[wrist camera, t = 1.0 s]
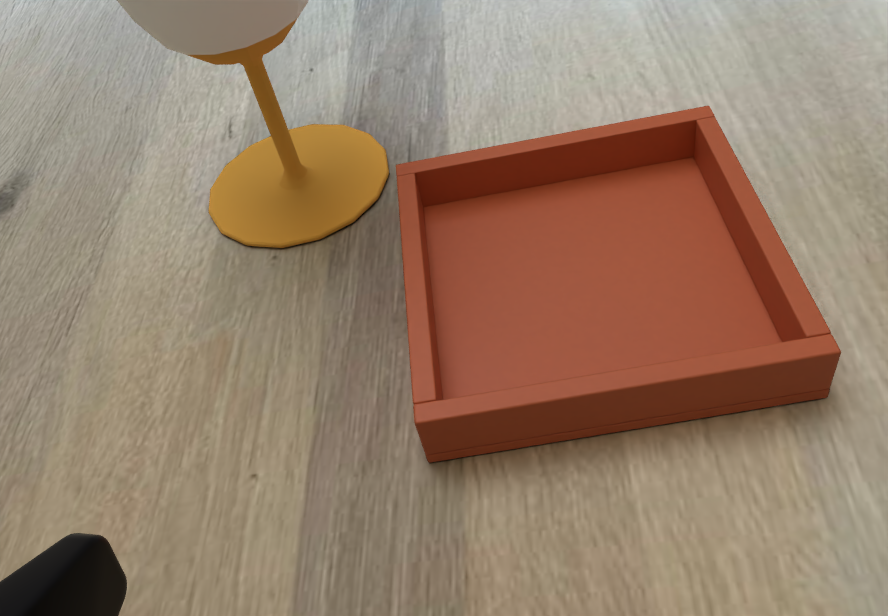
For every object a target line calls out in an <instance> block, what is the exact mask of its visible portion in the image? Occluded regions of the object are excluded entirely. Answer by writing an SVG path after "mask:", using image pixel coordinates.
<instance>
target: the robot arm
mask: <svg viewBox="0 0 888 616" xmlns="http://www.w3.org/2000/svg"><path fill="white" fill-rule="evenodd" d="M126 590H127V580H126V576H125V574H124V572H123V570H122V568H121V566H120V564H119V562H118V560H117V558H116V556H115V554H114V552H113V550H112V548H111V546H110V544H109V542H108V541H107V539H106V538H104V537H103V536H101V535H93V534H83V533H74V534H70V535H68V536H66V537H64V538H63V539H61V540H60V541H58V542H57V543H55V544H54V545H53V546H51V547H50V548H48V549H47V550H45V551H44V552H42V553H41V554H40V555H38V556H37V557H35V558H34V559H32V560H31V561H29V562H28V563H27V564H25V565H24V566H22V567H21V568H19V569H18V570H17V571H15V572H14V573H12V574H11V575H9V576H8V577H6V578H5V579H4V580H2V581H1V582H0V616H118V615H119V612H120V610H121V607H122V604H123V602H124V599H125V595H126Z"/></svg>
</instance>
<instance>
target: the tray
mask: <svg viewBox="0 0 888 616" xmlns="http://www.w3.org/2000/svg"><path fill="white" fill-rule="evenodd" d="M396 174H397V187H398V201H399V215H400V229H401V243H402V257H403V270H404V284H405V298H406V312H407V326H408V340H409V354H410V368H411V381H412V395H413V404H414V407H413V408H414V422H415V425H416V428H417V431H418V434H419V437H420V440H421V443H422V446H423V448H424V451H425V453H426V458H427V461H428V462H429V463H431V462H437V461H443V460H449V459H455V458H461V457H467V456H473V455H479V454H485V453H491V452H498V451H504V450H510V449H516V448H522V447H528V446H534V445H540V444H546V443H552V442H559V441H565V440H571V439H577V438H583V437H589V436H595V435H601V434H607V433H613V432H620V431H626V430H632V429H638V428H644V427H650V426H656V425H662V424H668V423H674V422H680V421H687V420H693V419H699V418H705V417H711V416H717V415H723V414H729V413H735V412H741V411H748V410H754V409H760V408H766V407H772V406H778V405H784V404H790V403H796V402H802V401H808V400H815V399H821V398H826V397H828V393H829V390H830V389H829V388H830V386H831V383H832V380H833V376H834V373H835V370H836V367H837V364H838V361H839V357H840V354H841V351H840V349H839V347H838V345H837V343H836V341H835V339H834V337H833V336H832V335H831V332H830V330H829V328H828V326H827V324H826V322H825V320H824V319H823V317H822V315H821V313H820V311H819V309H818V307H817V306H816V304H815V302H814V300H813V298H812V296H811V294H810V293H809V291H808V289H807V287H806V285H805V283H804V281H803V280H802V278H801V276H800V274H799V272H798V270H797V268H796V267H795V265H794V263H793V261H792V259H791V257H790V256H789V254H788V252H787V250H786V248H785V246H784V244H783V243H782V241H781V239H780V237H779V235H778V233H777V231H776V230H775V228H774V226H773V224H772V222H771V220H770V218H769V217H768V215H767V213H766V211H765V209H764V207H763V205H762V204H761V202H760V200H759V198H758V196H757V194H756V192H755V191H754V189H753V187H752V185H751V183H750V181H749V179H748V178H747V176H746V174H745V172H744V170H743V168H742V166H741V165H740V163H739V161H738V159H737V157H736V155H735V154H734V152H733V150H732V148H731V146H730V144H729V142H728V141H727V139H726V137H725V135H724V133H723V131H722V129H721V128H720V126H719V124H718V122H717V120H716V118H715V116H714V114H713V112H712V110H711V108H710V107H709V106H704V107H699V108H694V109H688V110H683V111H678V112H673V113H667V114H662V115H657V116H651V117H646V118H641V119H636V120H630V121H625V122H620V123H614V124H609V125H604V126H599V127H593V128H588V129H583V130H577V131H572V132H567V133H562V134H556V135H551V136H546V137H540V138H535V139H530V140H525V141H519V142H514V143H509V144H503V145H498V146H493V147H488V148H482V149H477V150H472V151H466V152H461V153H456V154H451V155H445V156H440V157H435V158H429V159H424V160H419V161H414V162H408V163H403V164H398V165H396Z"/></svg>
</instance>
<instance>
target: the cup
mask: <svg viewBox="0 0 888 616" xmlns="http://www.w3.org/2000/svg"><path fill="white" fill-rule="evenodd" d="M117 1H118V2H119V3H120V5H121V6H122V7H123V8H124V9H125V11H126V12H127V13H128V14H129V15H130V17H131V18H132V19H133V20H134V21H135V22H136V23H137V24H138V25H139V26H141V27H142V28H143V29H144V30H145V31H147V32H148V33H149V34H150V35H151V36H153V37H154V38H155V39H156V40H157V41H159V42H160V43H161V44H162V45H163V46H165V47H166V48H167V49H170V50H173V51H176V52H179V53H183V54H186V55H189V56H191V57H194V58H197V59H200V60H203V61H206V62H209V63H212V64H215V65H219V64H236V63H240V64H242V65H243V66H244V68H245V71H246V73H247V76H248V78H249V81H250V83H251V86H252V88H253V91H254V94H255V96H256V99H257V101H258V104H259V106H260V109H261V111H262V114H263V116H264V119H265V121H266V124H267V127H268V129H269V132H270V134H271V136H270V137H268V138H265V139H263V140H261V141H259V142H257V143H255V144H253V145H251V146H249V147H248V148H247V149H245V150H244V151H243V152H242V153H240V154H239V155H238V156H237V157H236V158H234V159H233V160H232V161H231V162H229V163H228V164H227V165H226V166H225V167H224V169H223V171H222V172H221V174H220V175H219V177H218V178H217V180H216V181H215V183H214V185H213V186H212V188H211V190H210V201H209V214H210V216H211V217H212V219H213V220H214V222H215V224H216V225H217V227H218V228H219V230H220V232H221V233H222V234H224V235H226V236H228V237H230V238H232V239H234V240H236V241H238V242H240V243H242V244H244V245H247V246H260V247H276V248H284V247H289V246H293V245H298V244H302V243H307V242H311V241H316V240H320V239H322V238H324V237H326V236H328V235H330V234H332V233H334V232H336V231H337V230H339V229H341V228H343V227H345V226H347V225H349V224H351V223H353V222H354V221H355V220H356V219H358V218H359V217H360V216H361V215H362V214H363V213H364V212H365V211H366V210H367V209H368V208H369V207H370V206H371V205H372V204H373V203H374V202H375V201H376V200H377V199H378V198H379V196H380V194H381V192H382V189H383V187H384V185H385V182H386V180H387V178H388V176H389V169H388V163H387V156H386V151H385V149H384V148H383V147H382V146H381V145H380V144H379V143H378V142H377V141H376V140H375V139H374V138H373V137H372V136H371V135H370V134H369V133H366V132H363V131H360V130H357V129H354V128H351V127H348V126H345V125H320V124H312V125H307V126H303V127H298V128H294V129H290V130H288V128H287V126H286V123H285V120H284V117H283V115H282V112H281V109H280V107H279V104H278V101H277V99H276V96H275V93H274V91H273V88H272V85H271V83H270V80H269V77H268V75H267V72H266V69H265V67H264V64H263V61H262V57H263V55H264V54H266V53H268V52H270V51H271V50H273V49H274V48H275V47H277V46H278V45H279V44H281V43H282V42H283V40H284V39H285V37H286V36H287V34H288V33H289V31H290V30H291V28H292V26H293V25H294V23H295V21H296V20H297V18H298V17H299V15H300V13H301V12H302V10H303V9H304V7H305V6H306V4H307V3H308V0H117Z"/></svg>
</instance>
